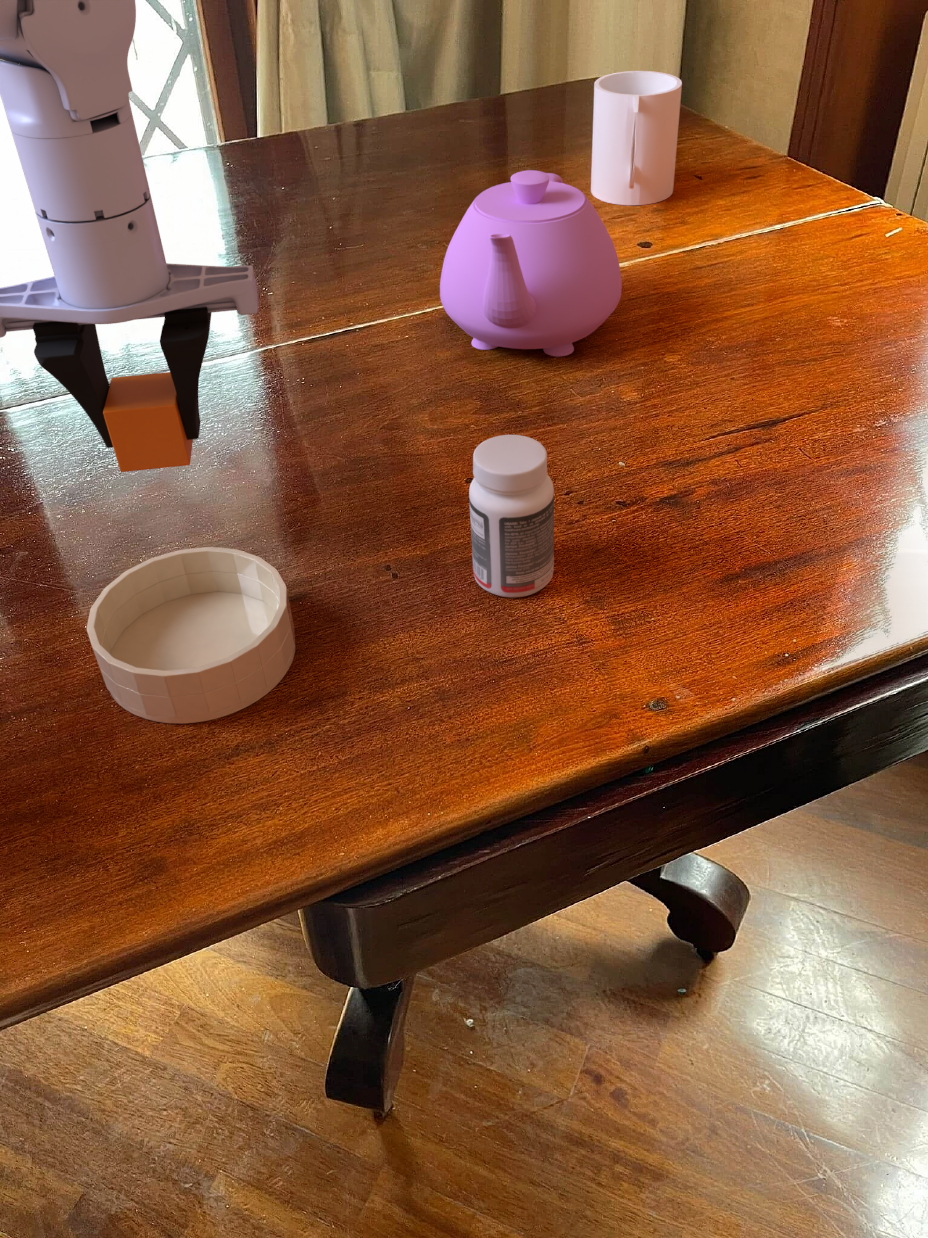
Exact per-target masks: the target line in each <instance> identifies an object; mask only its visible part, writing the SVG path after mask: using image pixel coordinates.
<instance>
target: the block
mask: <svg viewBox="0 0 928 1238" xmlns="http://www.w3.org/2000/svg"><path fill="white" fill-rule="evenodd" d="M109 385H110V386H109V390H108V394H107V398H106V402H105V406H104V411H103V414H104V418H105V421H106V424H107V428H108V431H109V434H110V438H111V441H112V445H113V448H112V449H113V451H114V454H115V458H116V461H117V464H118V468H119V472H121V473H126V472H127V473H129V472H137V471H147V470H157V469H166V468H177V467H184V466H190V465H191V459H192V450H193V442H194V439H192V440H187V437H186V434H185V431H184V428H183V424H182V421H181V416H180V410H179V404H178V398H177V393H176V390H175V386H174V383H173V380H172V377H171V373H170V371H166V372H157V373H156V372H155V373H146V374H145V373H144V374H135V375H127V376H115V377H111V378H110V382H109Z"/></svg>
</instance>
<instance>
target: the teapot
mask: <svg viewBox="0 0 928 1238" xmlns="http://www.w3.org/2000/svg"><path fill="white" fill-rule="evenodd" d="M509 179H510V181H509V182H504V183H500V184H496V185H494V186H491V187H489V188H487V189H485V190H483V191H482V192H480V193H479V194H478V195H477V196H475V198H474V199H473V201H472V202H471V203H470V205H469V207H468V208H467V210H466V211H465V213H464V215H463V216H462V218H461V221H459V224H458V226H457V228H456V229H455V231H454V233H453V236H452V237H451V239H450V242H449V244H448V246H447V249H446V252H445V255H444V258H443V263H442V269H441V273H440V279H439V280H440V281H439V300H440V302H441V305H442V307H443V310H444V312H445V313H446V314H447V316H449V318H450V319H451V320H452V321H453V322H454V324H456V325H457V326H458V327H459V328H460V329H461V330H462V331H464V332H465V333H466V334H467V335H468V336H470V337H471V338H472V340H471V342H470V345H471V346H472V347H474V348H475V349H477V350H482V351H487V350H493V349H496V348H498V347H500V348H507V349H513V350H514V349H517V350H539V349H542V351H543V352H544V353H545V354H546V355H548V356H551V357H565V356H569V355H570V354H572V353H573V352H574V351H575V347H574V345H573V343H575V342H577V341H578V342H579V341H580V340H582V339H585V338H586V337H588V336H590V335H591V334H592V333H594V332H595V331H596V330H597V329H598V328H599V327H600V326H602V325H603V324H604V323H605V322H606V321H607V320H608V318H609V317H610V316H611V314H613V313H614V311H616V308H617V306H618V305H619V303H620V300H621V297H622V286H623V285H622V274H621V267H620V262H619V255H618V254H617V251H616V248H615V245H614V242H613V239H612V237H611V235H610V233H609V231H608V229H607V227H606V225H605V224H604V221H603V220H602V218H601V216H600V215H599V213H598V212H597V210H596V208H595V206H594V205H593V204H592V202H591V201H590V200H589V198H588V197H587V196H586V194H585V193H584V192H582V191H581V190H580V189H579V188H577V187H574V186H572V185H569V184H568V183H564V181H563V179H562V177H561V176H560V175H558V174H556V173H552V172H544V171H541V170H536V169H534V170H533V169H527V170H521V171H518V172H516V173H513V174H512V175H511V176H510V178H509Z"/></svg>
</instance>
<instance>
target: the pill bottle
mask: <svg viewBox="0 0 928 1238" xmlns="http://www.w3.org/2000/svg"><path fill="white" fill-rule="evenodd" d="M472 474H473V479H472V480H471V482H470V485H469V489H468V503H469V517H470V520H469V521H470V522H469V523H470V534H471V535H470V536H471V538H470V539H471V556H472V572H473V577H474V579H475V582H476V584H478V586H479V587H480V588H482V589H483V590H484V591H486V592H488V593H490V594H493V595H495V596H499V597H503V598H511V599H513V598H514V599H515V598H524V597H528V596H531V595H533V594H535V593H537V592H539V591H541V590H542V589H544V588H545V587H547V585H548V584H549V583H550V582H551V581H552V578H553V576H554V570H555V569H554V568H555V557H554V556H555V489H554V483H553V481H552V478H551V477H550V475H548V452H547V449H546V447H545V446H544V445H543V444H542V443H541V442H540V441H538V440H536V439H534V438H532V437H529V436H525V435H521V434H502V435H496V436H493V437H490V438H487V439H485V440H483V441H482V442H481V443H479V444H477V446H476V447H475V448H474V451H473V454H472Z"/></svg>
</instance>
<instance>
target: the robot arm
mask: <svg viewBox="0 0 928 1238" xmlns="http://www.w3.org/2000/svg"><path fill="white" fill-rule="evenodd" d="M136 18H137V5H136V0H0V98H1V102H2V105H3V108H4V112H5V115H6V116H5V117H6V119H7V122H8V125H9V129H10V132H11V136H12V139H13V142H14V145H15V149H16V152H17V155H18V158H19V162H20V165H21V169H22V172H23V175H24V178H25V182H26V185H27V188H28V189H27V190H28V192H29V195H30V198H31V201H32V205H33V208H34V211H35V216H36V219H37V222H38V223H37V224H38V225H39V226H38V227H39V229H40V232H41V237H42V239H43V241H44V242H43V243H44V246H45V249H46V253H47V256H48V259H49V263H50V265H51V266H50V267H51V269H52V272H53V276H50V277H44V278H40V279H37V280H31V281H26V282H22V283H18V284H14V285H9V286H3V287H0V339H1V338H3V337H6V335H7V333H9V332H10V333H11V332H18V331H31V330H33V333H34V336H35V337H34V340H35V347H34V350H33V354H34V356H35V359H36V361H37V362H38V364H39V365H40V367H41V368H42V369H44V370H45V371H46V372H47V373H49V374H50V375H51V376H52V377H53V378H54V379H55V380H56V381H58V382H59V383H60V384H61V386H62V387H64V388H65V389H66V390H67V391H68V393H69V394H70V395H71V396H72V398H74V400H75V401H76V402H77V403H78V404H79V406H80V407H81V408H82V410H83V411H84V412H85V413H86V415H87V416H88V418H89V419H90V421H91V423H92V424H93V426H94V428H95V429H96V430H97V432H98V434H99V435H100V437H101V439H102V441H103V443H104V445H105V447H106V448H107V449H114V448H113V445H112V441H111V438H110V434H109V431H108V428H107V424H106V421H105V418H104V414H103V411H104V406H105V402H106V398H107V394H108V390H109V386H110V382H109V380H108V377H107V373H106V368H105V364H104V360H103V355H102V351H101V346H100V340H99V335H98V331H97V325H113V324H122V323H127V322H131V321H136V320H137V321H138V320H147V319H157V318H164V320H163V325H162V327H161V332H160V337H159V345H160V348H161V352H162V353H163V356H164V360H165V361H166V365H167V367H168V370H169V372H170V373H171V377H172V380H173V383H174V386H175V390H176V393H177V398H178V404H179V410H180V416H181V421H182V424H183V428H184V431H185V434H186V437H187V440H192V439H193V440H197V439H199V438H200V430H201V417H200V405H199V385H200V374H201V370H202V365H203V362H204V357H205V354H206V350H207V345H208V342H209V337H210V330H211V320H212V313H219V312H220V313H221V312H232V311H237V314H238V315H240V316H244V315H256V314H258V312H259V294H258V288H257V283H256V276H255V270H254V266H253V265H251V264H250V265H237V266H236V265H235V266H221V265H220V266H217V265H201V264H200V265H199V264H185V263H184V264H183V263H167V260H166V255H165V252H164V247H163V243H162V238H161V233H160V230H159V226H158V221H157V217H156V212H155V207H154V203H153V199H152V195H151V190H150V187H149V186H150V185H149V182H148V181H149V180H148V177H147V172H146V168H145V164H144V159H143V156H142V151H141V147H140V142H139V138H138V134H137V129H136V124H135V120H134V116H133V111H132V107H131V102H130V96H129V95H130V93H131V92H133V87H132V81H131V78H130V73H129V67H128V66H129V65H128V58H129V52H130V48H131V45H132V42H133V39H134V35H135V31H136V22H137V19H136Z"/></svg>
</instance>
